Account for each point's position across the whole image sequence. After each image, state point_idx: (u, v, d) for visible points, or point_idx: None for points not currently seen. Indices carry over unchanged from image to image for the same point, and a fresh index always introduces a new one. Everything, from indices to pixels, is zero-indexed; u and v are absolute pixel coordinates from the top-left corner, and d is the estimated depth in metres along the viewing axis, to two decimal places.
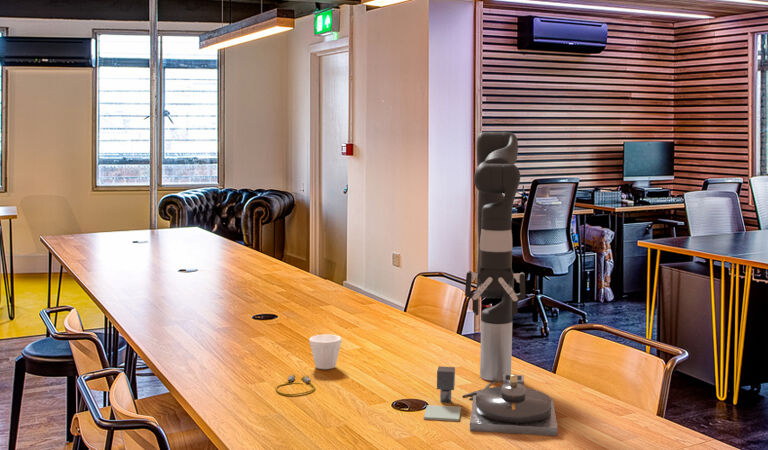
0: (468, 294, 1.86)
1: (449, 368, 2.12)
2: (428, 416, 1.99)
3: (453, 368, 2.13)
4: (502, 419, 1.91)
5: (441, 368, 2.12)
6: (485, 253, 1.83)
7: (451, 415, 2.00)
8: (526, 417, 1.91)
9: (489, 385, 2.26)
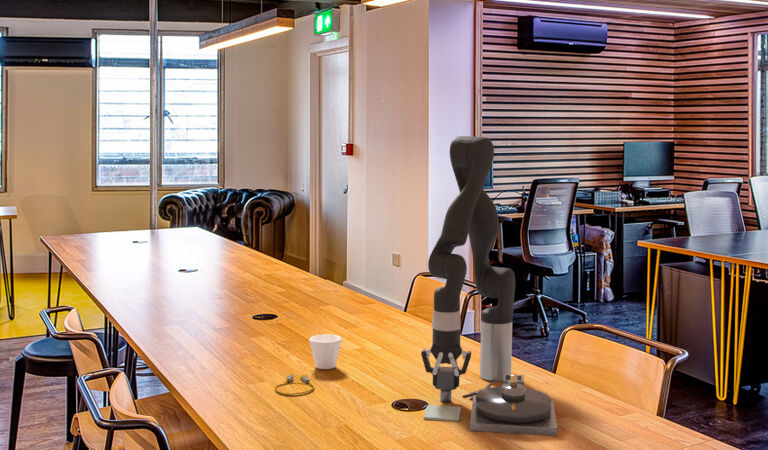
0: (428, 370, 2.11)
1: (449, 368, 2.12)
2: (428, 416, 1.99)
3: None
4: (502, 419, 1.91)
5: (441, 368, 2.12)
6: (436, 331, 2.08)
7: (451, 415, 2.00)
8: (526, 417, 1.91)
9: (489, 385, 2.26)
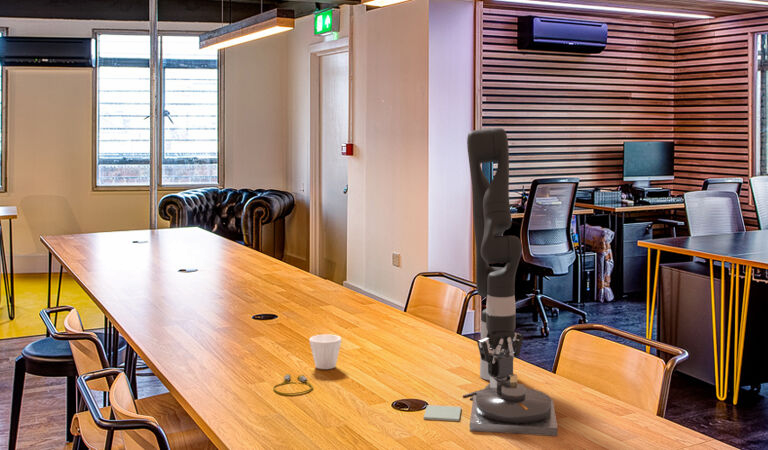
0: (489, 359, 2.02)
1: (501, 354, 2.07)
2: (428, 416, 1.99)
3: (504, 353, 2.07)
4: (516, 420, 1.91)
5: None
6: (500, 318, 2.01)
7: (451, 415, 2.00)
8: (538, 415, 1.92)
9: (489, 385, 2.26)
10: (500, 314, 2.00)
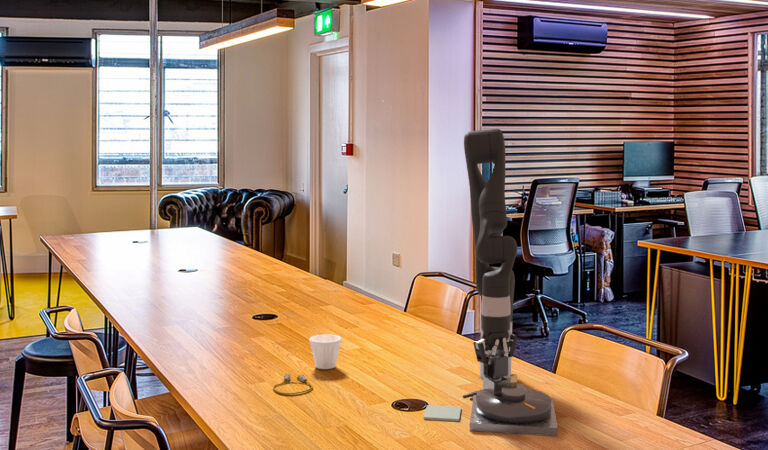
0: (486, 360, 2.01)
1: (496, 355, 2.06)
2: (428, 416, 1.99)
3: (498, 354, 2.07)
4: (525, 420, 1.91)
5: None
6: (496, 318, 2.00)
7: (451, 415, 2.00)
8: (544, 413, 1.93)
9: None
10: (496, 315, 2.00)
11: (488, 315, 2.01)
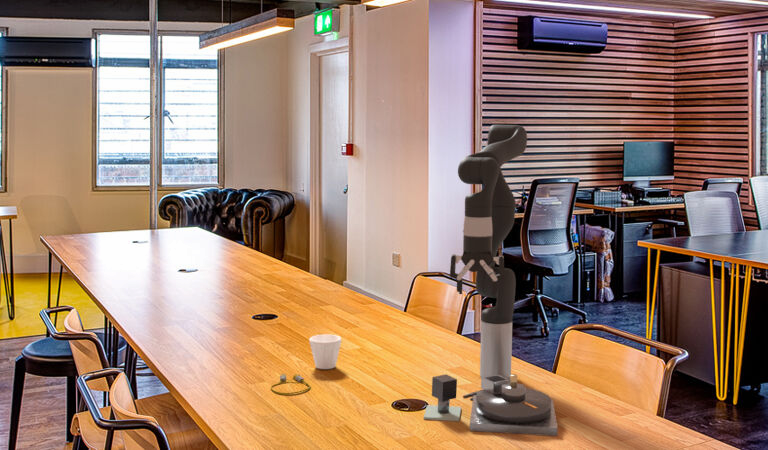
0: (453, 275, 2.06)
1: (445, 376, 2.03)
2: (428, 416, 1.99)
3: (448, 375, 2.04)
4: (528, 420, 1.91)
5: (439, 378, 2.01)
6: (468, 238, 2.03)
7: (451, 415, 2.00)
8: (546, 412, 1.94)
9: None
10: (468, 234, 2.03)
11: (463, 234, 2.05)
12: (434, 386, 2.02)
